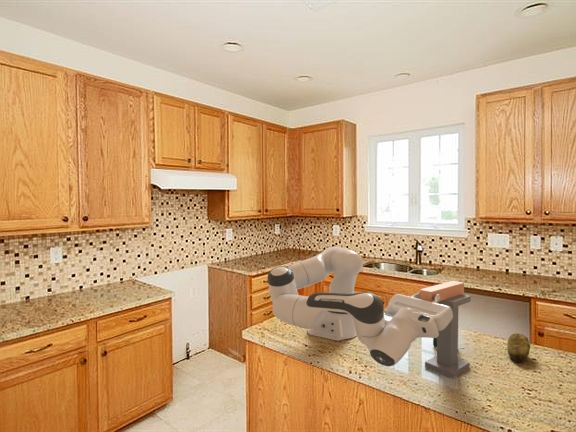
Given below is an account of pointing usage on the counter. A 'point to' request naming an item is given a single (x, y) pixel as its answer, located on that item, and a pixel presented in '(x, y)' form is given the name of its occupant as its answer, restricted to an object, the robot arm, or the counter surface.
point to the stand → (449, 343)
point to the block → (442, 291)
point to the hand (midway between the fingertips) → (429, 294)
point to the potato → (518, 347)
